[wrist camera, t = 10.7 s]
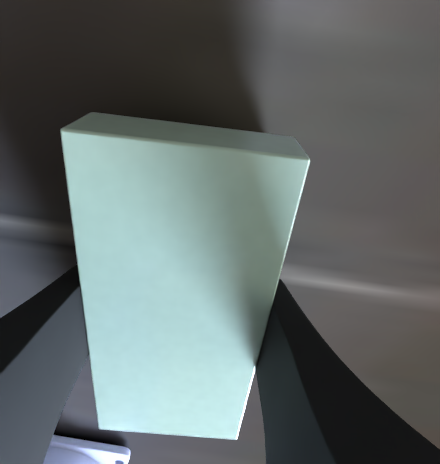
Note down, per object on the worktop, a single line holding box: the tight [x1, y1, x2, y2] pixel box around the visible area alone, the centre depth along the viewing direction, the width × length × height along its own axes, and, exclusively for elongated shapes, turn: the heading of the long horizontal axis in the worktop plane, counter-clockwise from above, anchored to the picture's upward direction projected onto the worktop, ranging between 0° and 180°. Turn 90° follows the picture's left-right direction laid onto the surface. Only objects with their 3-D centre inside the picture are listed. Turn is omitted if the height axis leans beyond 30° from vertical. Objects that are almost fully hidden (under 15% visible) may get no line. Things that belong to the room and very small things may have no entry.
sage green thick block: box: [60, 112, 310, 440], centre depth 11 cm, size 11×5×3 cm, turn 173°
